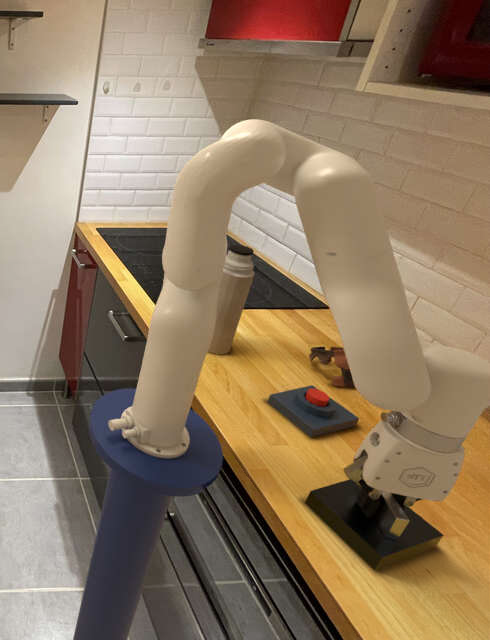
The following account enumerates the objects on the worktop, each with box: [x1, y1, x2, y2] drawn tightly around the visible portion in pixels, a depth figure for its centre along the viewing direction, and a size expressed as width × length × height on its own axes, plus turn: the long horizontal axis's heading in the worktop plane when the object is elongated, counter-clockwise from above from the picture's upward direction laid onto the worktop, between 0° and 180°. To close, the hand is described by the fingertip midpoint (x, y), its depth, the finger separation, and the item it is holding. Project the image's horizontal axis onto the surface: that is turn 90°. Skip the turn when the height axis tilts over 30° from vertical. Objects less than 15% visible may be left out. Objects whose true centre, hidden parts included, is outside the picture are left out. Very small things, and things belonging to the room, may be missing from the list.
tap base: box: [304, 478, 445, 571], centre depth 72 cm, size 13×11×3 cm
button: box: [305, 388, 330, 407], centre depth 93 cm, size 4×4×2 cm
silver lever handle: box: [354, 483, 409, 540], centre depth 71 cm, size 9×2×5 cm, turn 165°
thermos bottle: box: [207, 244, 255, 355], centre depth 111 cm, size 8×8×28 cm
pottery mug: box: [308, 346, 355, 388], centre depth 106 cm, size 12×10×8 cm
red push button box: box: [267, 384, 360, 438], centre depth 94 cm, size 12×10×4 cm
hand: (375, 511), depth 72 cm, fingers closed
